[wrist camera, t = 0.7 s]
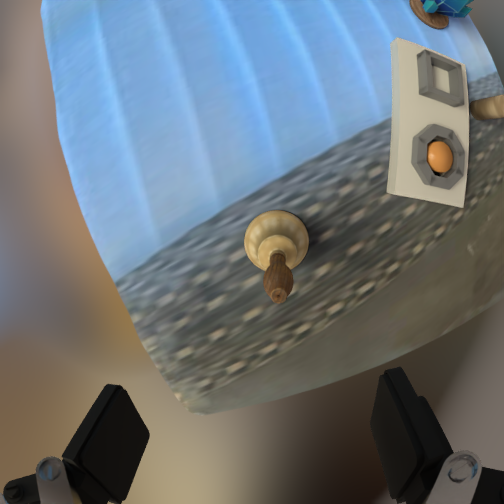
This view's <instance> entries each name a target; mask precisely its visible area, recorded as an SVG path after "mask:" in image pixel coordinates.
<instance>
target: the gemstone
mask: <svg viewBox="0 0 504 504" xmlns="http://www.w3.org/2000/svg"><path fill="white" fill-rule="evenodd" d="M472 1H473V0H410V1H409V2H410V6H411V9H412V10H413V12H414V13H415V15H416V16H417V17H418V18H419V19H420V20H421V21H422V22H424V23H425V24H427V25H428V26H430V27H432V28H435V29H443V28H445V27H446V26H447V25H448V22H449V19H448V16H450V17H465V16H466V15H467V14H468V13H469V12H470V11H471V10H472V9H471V8H469V7H467V6H466V5H467V4H469V3H470V2H472Z"/></svg>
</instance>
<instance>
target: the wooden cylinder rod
mask: <svg viewBox="0 0 504 504" xmlns="http://www.w3.org/2000/svg"><path fill="white" fill-rule="evenodd" d="M470 111H471V114H472V116H473V117H474V118H475V119H476V120H485V119H495V118H504V95H499V96H494V97H489V98H484V99H479V100H475V101H472V102H471V103H470Z"/></svg>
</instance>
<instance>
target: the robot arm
mask: <svg viewBox="0 0 504 504" xmlns="http://www.w3.org/2000/svg"><path fill="white" fill-rule="evenodd" d="M370 425H371V430H372V433H373V437H374V440H375V443H376V447H377V450H378V453H379V457H380V460H381V463H382V467H383V470H384V474H385V478H386V481H387V485H388V488H389V492H390V496H391V498H392V499H396V500H397V504H398V503H402V502H405V501H406V504H504V471H500V470H495V469H490V468H485V467H482V464H481V460H480V458H479V457H478V456H477V455H476V454H474V453H473V452H470V451H458V452H455V453H454V452H453V450H452V448H451V446H450V444H449V442H448V440H447V438H446V436H445V434H444V432H443V430H442V428H441V426H440V424H439V422H438V420H437V418H436V416H435V415H434V413H433V411H432V409H431V407H430V406H429V404H428V402H427V400H426V399H425V398H424V397H423V396H419V397H418V396H417V394H416V393H415V391H414V389H413V387H412V385H411V383H410V381H409V380H408V378H407V376H406V374H405V372H404V371H403V369H402V368H401V367H397V368H393V369H388V370H385V372H384V375H380V377H379V383H378V388H377V393H376V399H375V403H374V408H373V413H372V417H371V422H370ZM149 436H150V434H149V430H148V429H147V427H146V425H145V424H144V422H143V420H142V418H141V417H140V415H139V413H138V411H137V410H136V408H135V406H134V404H133V402H132V400H131V399H130V397H129V395H128V393H127V391H126V390H124V389H123V387H122V386H120V385H112V384H107V385H106V386H105V387H104V389H103V390H102V392H101V393H100V395H99V396H98V398H97V399H96V401H95V402H94V404H93V406H92V407H91V409H90V410H89V412H88V413H87V415H86V417H85V418H84V420H83V421H82V423H81V425H80V426H79V428H78V429H77V431H76V433H75V434H74V436H73V438H72V439H71V441H70V443H69V444H68V446H67V448H66V450H65V451H64V453H63V455H62V457H63V460H62V461H61V460H60V459H59V458H57V457H53V456H51V457H46V458H44V459H42V460H41V461H40V462H39V463H38V465H37V467H36V473H35V474H32V475H29V476H25V477H22V478H19V479H15V480H12V481H9V482H8V483H7V484H6V486H5V487H4V491H3V494H2V493H0V504H107V503H108V501H109V502H111V503H114V504H121V503H122V501H124V500H125V499H126V497H127V495H128V492H129V490H130V487H131V484H132V482H133V479H134V476H135V474H136V471H137V468H138V466H139V463H140V461H141V458H142V456H143V453H144V450H145V448H146V445H147V443H148V440H149Z"/></svg>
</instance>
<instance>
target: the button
mask: <svg viewBox="0 0 504 504" xmlns="http://www.w3.org/2000/svg"><path fill="white" fill-rule="evenodd" d="M426 161H427V163H428V165H429V166H430V168H431V170H432V171H434V172H446V171H448V170H449V169H450V168H451V166H452V162H453V156H452V152H451V150H450V148H449V146H448V145H447V144H445V143H444V142H441V141H438V142H429V143H428V144H427V159H426Z"/></svg>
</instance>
